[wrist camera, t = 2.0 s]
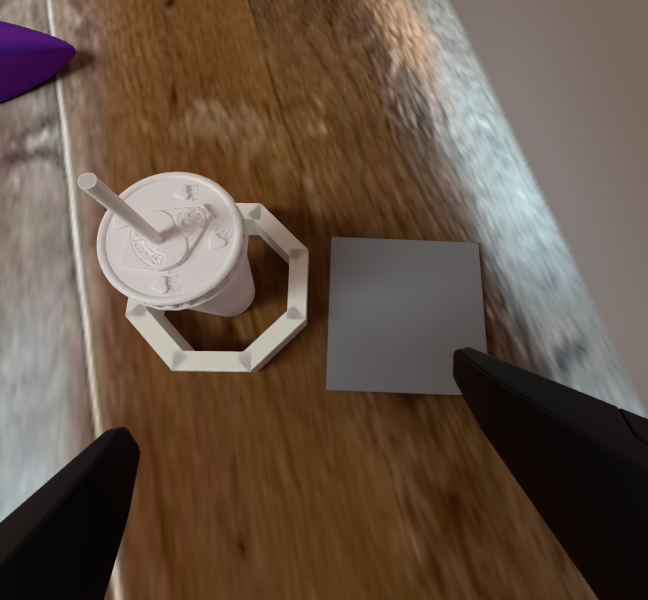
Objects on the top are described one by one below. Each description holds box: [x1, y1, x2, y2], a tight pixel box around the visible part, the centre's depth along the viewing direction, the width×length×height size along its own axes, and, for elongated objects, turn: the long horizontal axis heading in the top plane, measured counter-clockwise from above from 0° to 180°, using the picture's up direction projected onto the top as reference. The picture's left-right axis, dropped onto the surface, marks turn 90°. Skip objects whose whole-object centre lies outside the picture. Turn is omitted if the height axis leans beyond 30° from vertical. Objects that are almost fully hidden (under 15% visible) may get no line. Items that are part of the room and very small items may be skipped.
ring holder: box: [125, 203, 309, 373], centre depth 22 cm, size 12×12×2 cm
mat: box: [326, 237, 487, 395], centre depth 23 cm, size 11×11×1 cm
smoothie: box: [78, 172, 255, 317], centre depth 16 cm, size 6×6×14 cm
